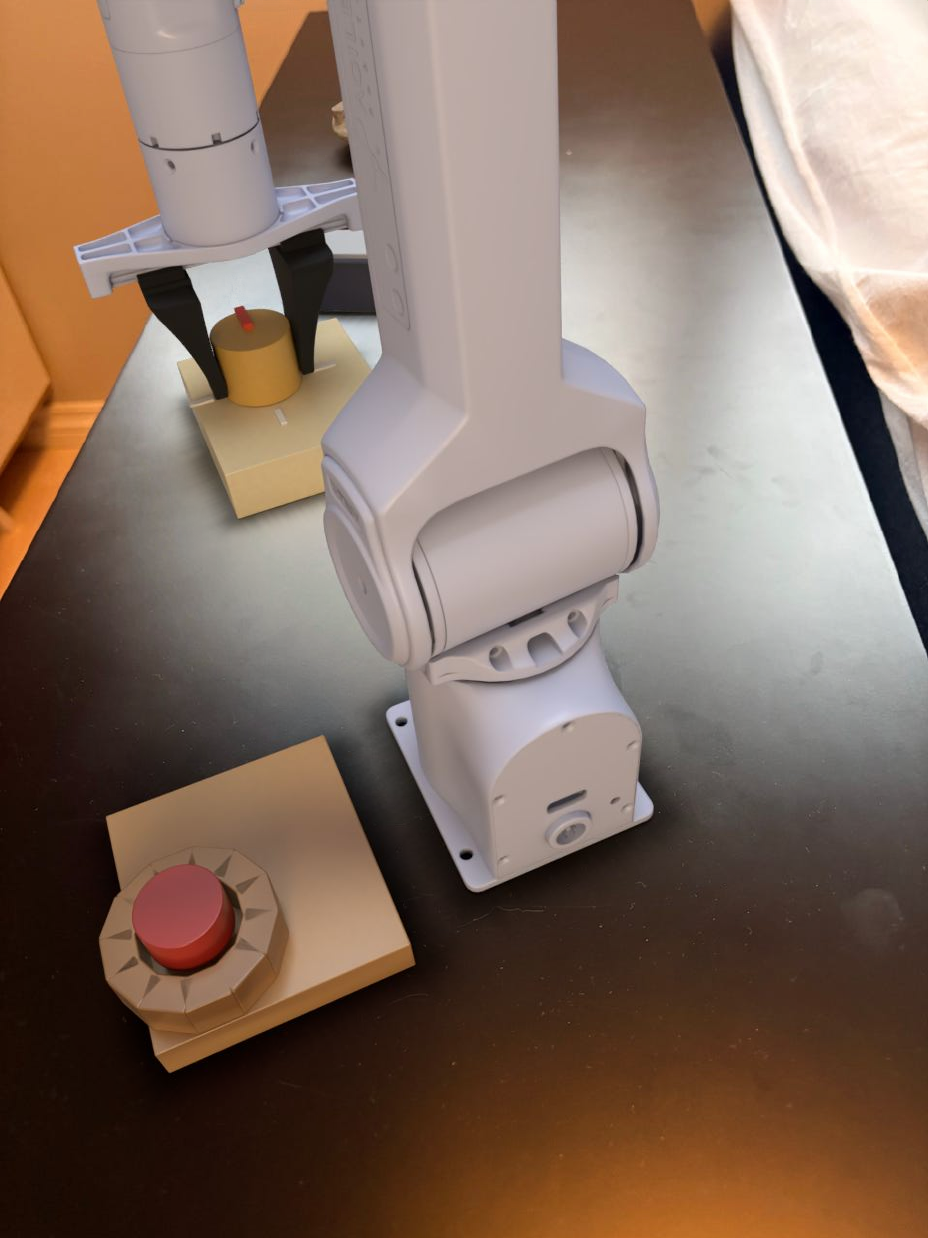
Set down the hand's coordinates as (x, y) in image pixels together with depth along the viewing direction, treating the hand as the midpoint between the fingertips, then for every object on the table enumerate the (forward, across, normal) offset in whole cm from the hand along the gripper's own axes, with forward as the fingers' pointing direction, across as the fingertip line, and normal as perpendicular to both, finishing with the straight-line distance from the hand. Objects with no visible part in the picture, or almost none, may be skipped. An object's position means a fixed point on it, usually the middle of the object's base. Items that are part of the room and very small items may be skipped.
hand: (262, 377), depth 56 cm
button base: (+3, +9, +29) cm, 31 cm away
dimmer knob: (0, 0, 0) cm, 0 cm away
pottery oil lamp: (+4, -21, -33) cm, 40 cm away
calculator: (+4, -14, -15) cm, 21 cm away
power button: (0, +11, +31) cm, 33 cm away
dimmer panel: (+3, -1, +1) cm, 4 cm away
